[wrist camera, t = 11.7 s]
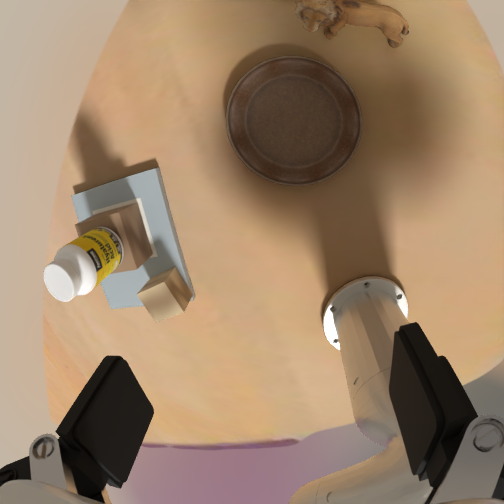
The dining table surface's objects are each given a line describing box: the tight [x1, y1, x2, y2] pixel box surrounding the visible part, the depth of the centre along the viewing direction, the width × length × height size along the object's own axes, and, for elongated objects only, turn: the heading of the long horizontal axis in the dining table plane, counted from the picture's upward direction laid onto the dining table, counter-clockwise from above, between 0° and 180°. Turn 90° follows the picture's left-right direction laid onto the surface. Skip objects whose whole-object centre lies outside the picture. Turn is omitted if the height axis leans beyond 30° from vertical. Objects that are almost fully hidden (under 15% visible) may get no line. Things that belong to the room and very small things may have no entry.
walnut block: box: [75, 202, 153, 274], centre depth 35 cm, size 7×7×5 cm
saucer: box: [226, 56, 362, 186], centre depth 31 cm, size 15×15×3 cm
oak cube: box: [137, 266, 193, 323], centre depth 38 cm, size 4×4×4 cm
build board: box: [71, 167, 195, 309], centre depth 39 cm, size 18×14×1 cm
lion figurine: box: [295, 0, 409, 48], centre depth 23 cm, size 15×5×9 cm, turn 99°
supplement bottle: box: [44, 227, 124, 302], centre depth 28 cm, size 5×5×10 cm
